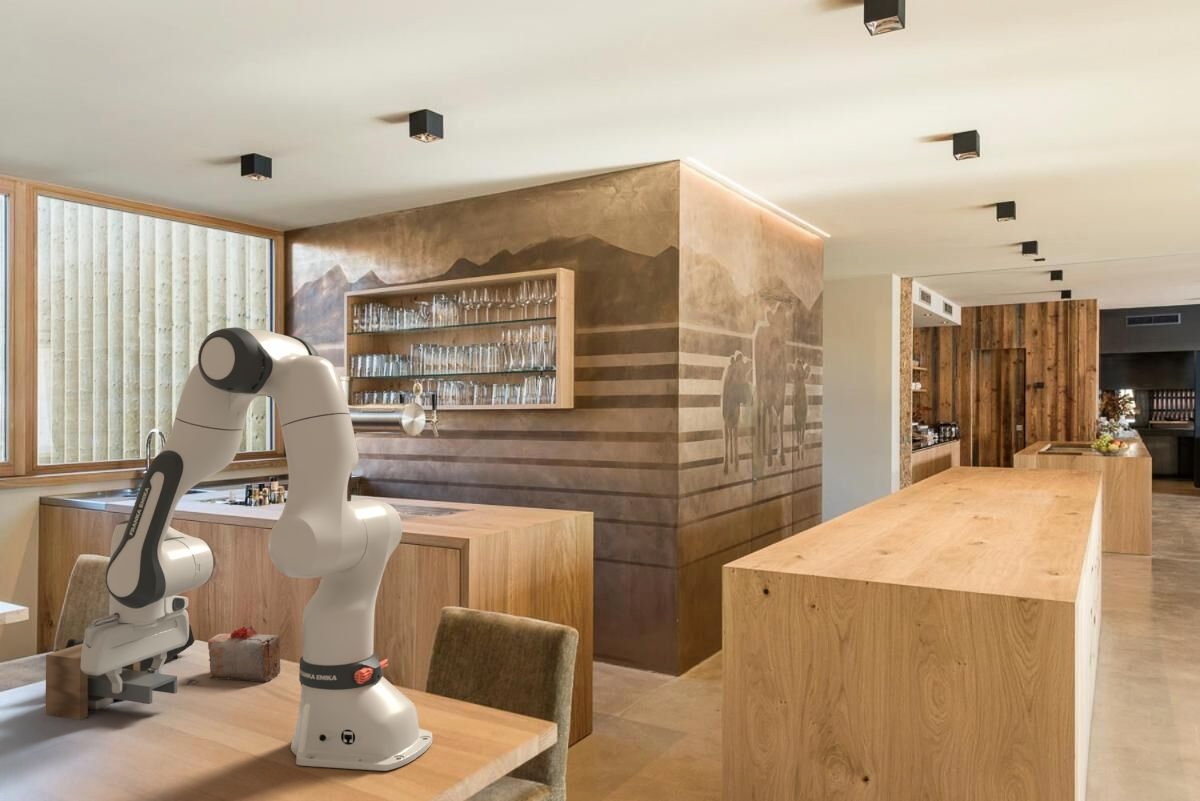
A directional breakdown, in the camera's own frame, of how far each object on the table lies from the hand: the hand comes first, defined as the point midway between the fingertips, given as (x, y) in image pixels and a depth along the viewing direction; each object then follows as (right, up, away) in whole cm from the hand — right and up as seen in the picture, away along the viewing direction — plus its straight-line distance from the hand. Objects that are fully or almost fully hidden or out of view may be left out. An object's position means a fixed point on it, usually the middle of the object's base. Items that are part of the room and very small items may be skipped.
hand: (137, 685), depth 149 cm
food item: (+11, -5, +20) cm, 23 cm away
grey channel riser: (-4, -2, +1) cm, 4 cm away
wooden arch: (-9, -5, +3) cm, 11 cm away
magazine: (-13, -5, +20) cm, 24 cm away
